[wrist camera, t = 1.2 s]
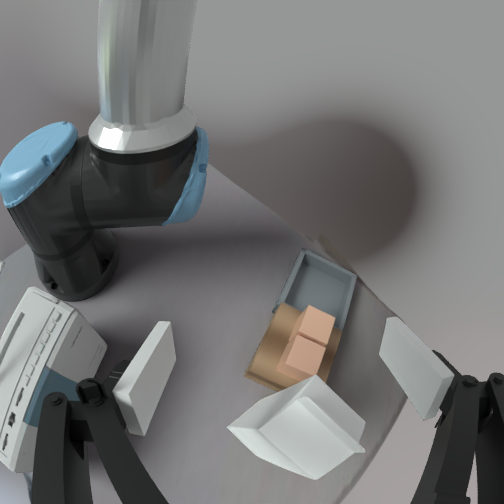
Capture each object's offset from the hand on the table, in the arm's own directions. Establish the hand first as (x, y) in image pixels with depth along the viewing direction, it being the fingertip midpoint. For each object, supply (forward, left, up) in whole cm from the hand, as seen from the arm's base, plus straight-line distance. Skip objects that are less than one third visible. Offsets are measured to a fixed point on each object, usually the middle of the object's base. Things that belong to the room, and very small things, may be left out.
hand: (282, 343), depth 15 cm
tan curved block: (+1, +10, -23) cm, 25 cm away
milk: (+6, 0, -23) cm, 24 cm away
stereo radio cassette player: (-10, -22, -23) cm, 33 cm away
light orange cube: (+2, +8, -19) cm, 20 cm away
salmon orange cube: (-1, +12, -19) cm, 22 cm away
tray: (-5, +20, -23) cm, 31 cm away
